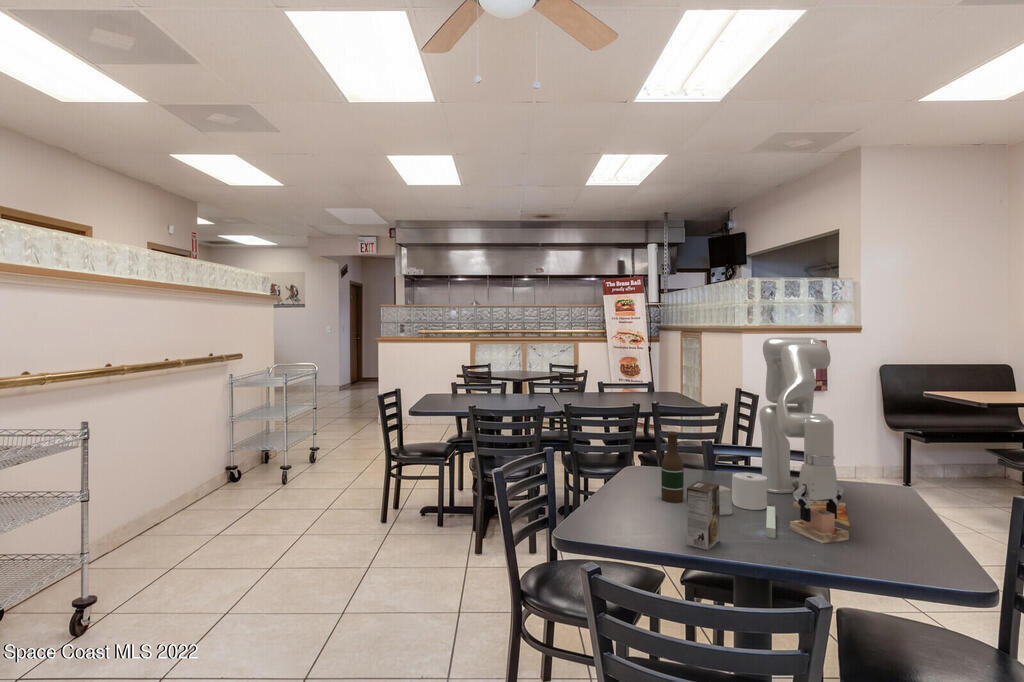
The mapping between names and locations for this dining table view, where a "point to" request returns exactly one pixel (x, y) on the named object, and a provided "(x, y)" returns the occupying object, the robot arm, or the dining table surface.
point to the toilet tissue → (749, 491)
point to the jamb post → (725, 500)
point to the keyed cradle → (817, 536)
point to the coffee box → (703, 515)
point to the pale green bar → (770, 522)
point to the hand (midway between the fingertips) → (818, 518)
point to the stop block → (821, 521)
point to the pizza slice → (841, 511)
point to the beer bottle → (672, 472)
